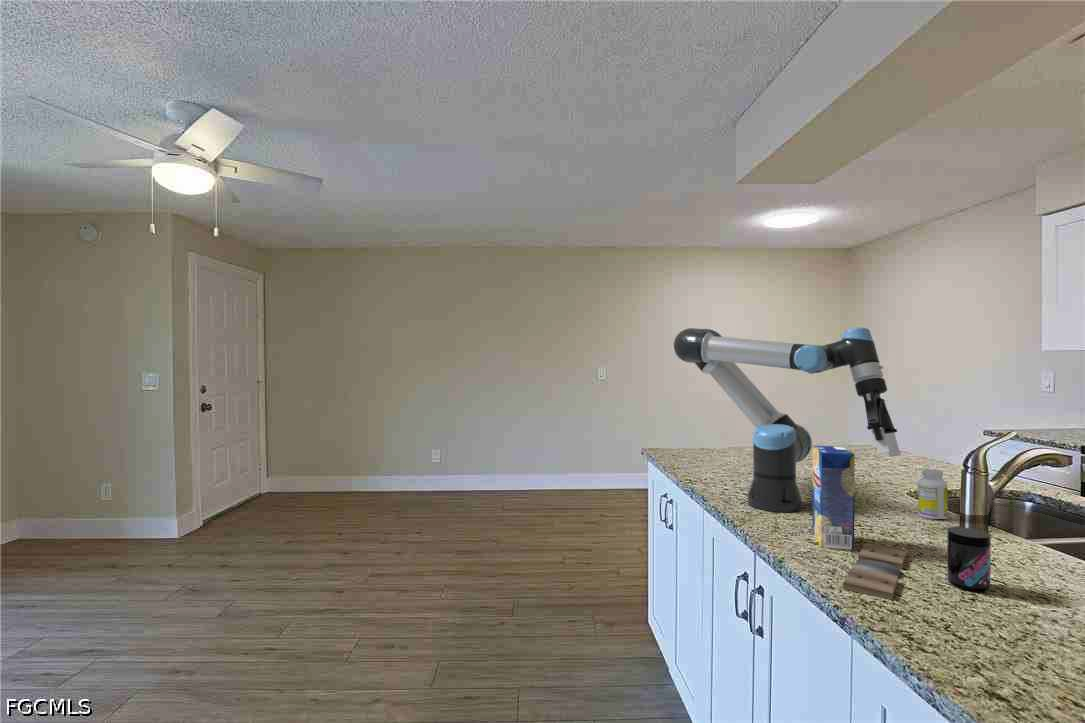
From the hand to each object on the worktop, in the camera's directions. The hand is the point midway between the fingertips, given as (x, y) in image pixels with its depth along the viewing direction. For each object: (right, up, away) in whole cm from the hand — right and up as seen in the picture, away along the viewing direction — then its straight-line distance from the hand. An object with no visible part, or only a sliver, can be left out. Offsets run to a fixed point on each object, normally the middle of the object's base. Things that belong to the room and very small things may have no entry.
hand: (889, 454), depth 153 cm
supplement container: (-13, -18, -45) cm, 50 cm away
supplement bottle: (+12, -17, 0) cm, 21 cm away
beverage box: (-26, -18, -19) cm, 37 cm away
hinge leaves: (-26, -18, -38) cm, 49 cm away
